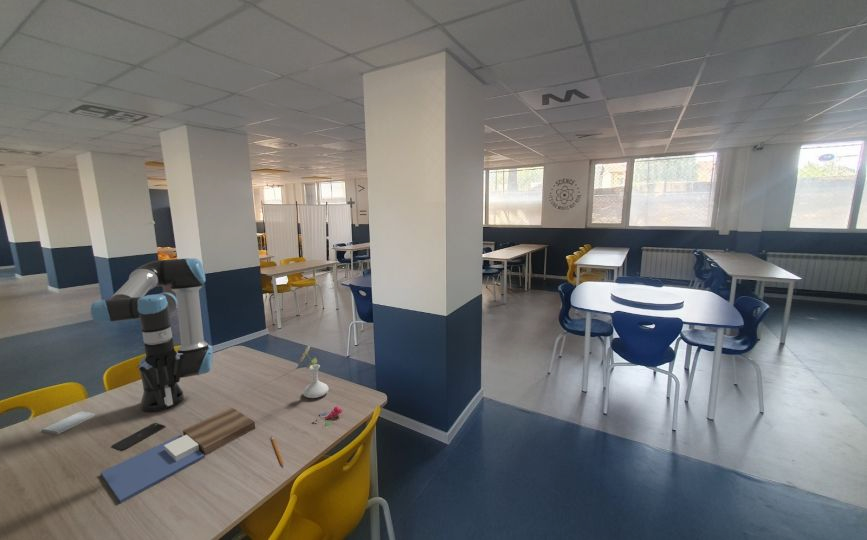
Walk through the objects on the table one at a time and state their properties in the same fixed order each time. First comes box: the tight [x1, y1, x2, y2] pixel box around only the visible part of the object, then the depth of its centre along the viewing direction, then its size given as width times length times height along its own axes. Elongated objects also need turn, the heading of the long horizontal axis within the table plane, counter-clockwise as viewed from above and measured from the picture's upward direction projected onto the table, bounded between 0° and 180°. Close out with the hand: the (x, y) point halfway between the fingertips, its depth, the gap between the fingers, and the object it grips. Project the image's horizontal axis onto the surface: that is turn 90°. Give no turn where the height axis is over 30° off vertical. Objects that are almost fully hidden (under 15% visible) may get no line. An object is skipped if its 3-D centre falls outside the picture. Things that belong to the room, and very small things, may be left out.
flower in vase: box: [299, 345, 330, 399], centre depth 156 cm, size 13×11×25 cm
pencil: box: [270, 435, 285, 468], centre depth 121 cm, size 1×1×19 cm
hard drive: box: [41, 411, 96, 435], centre depth 138 cm, size 2×8×12 cm
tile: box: [164, 435, 199, 461], centre depth 120 cm, size 10×7×2 cm
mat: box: [100, 434, 206, 504], centre depth 114 cm, size 20×22×1 cm
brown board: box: [182, 407, 256, 456], centre depth 131 cm, size 18×18×3 cm
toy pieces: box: [315, 405, 343, 427], centre depth 139 cm, size 12×11×4 cm
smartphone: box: [111, 422, 167, 452], centre depth 130 cm, size 7×1×15 cm
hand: (169, 404), depth 118 cm, fingers closed
